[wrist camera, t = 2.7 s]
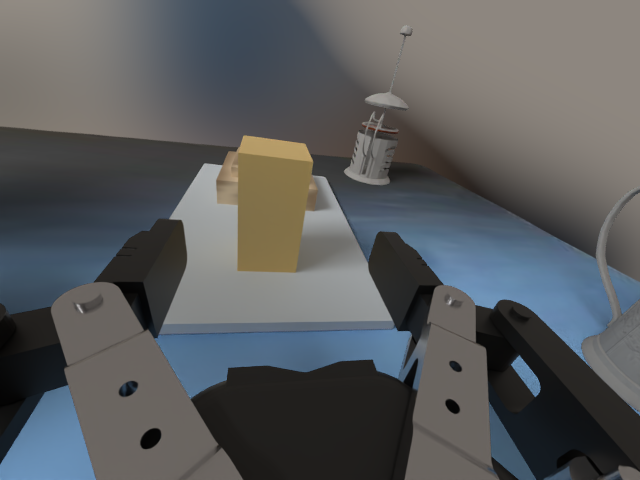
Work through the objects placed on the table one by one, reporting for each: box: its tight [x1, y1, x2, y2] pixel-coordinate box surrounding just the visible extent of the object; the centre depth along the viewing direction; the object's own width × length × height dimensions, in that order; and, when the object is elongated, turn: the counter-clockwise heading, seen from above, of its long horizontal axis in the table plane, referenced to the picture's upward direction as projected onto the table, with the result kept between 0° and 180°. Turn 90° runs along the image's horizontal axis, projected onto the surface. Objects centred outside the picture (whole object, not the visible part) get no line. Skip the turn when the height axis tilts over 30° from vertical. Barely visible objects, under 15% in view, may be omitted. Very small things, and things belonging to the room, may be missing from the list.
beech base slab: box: [216, 147, 318, 211], centre depth 37 cm, size 12×12×4 cm
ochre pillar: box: [237, 136, 313, 273], centre depth 23 cm, size 5×5×10 cm
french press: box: [344, 26, 412, 185], centre depth 48 cm, size 10×12×25 cm
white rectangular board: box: [159, 163, 395, 334], centre depth 32 cm, size 20×32×1 cm, turn 9°
